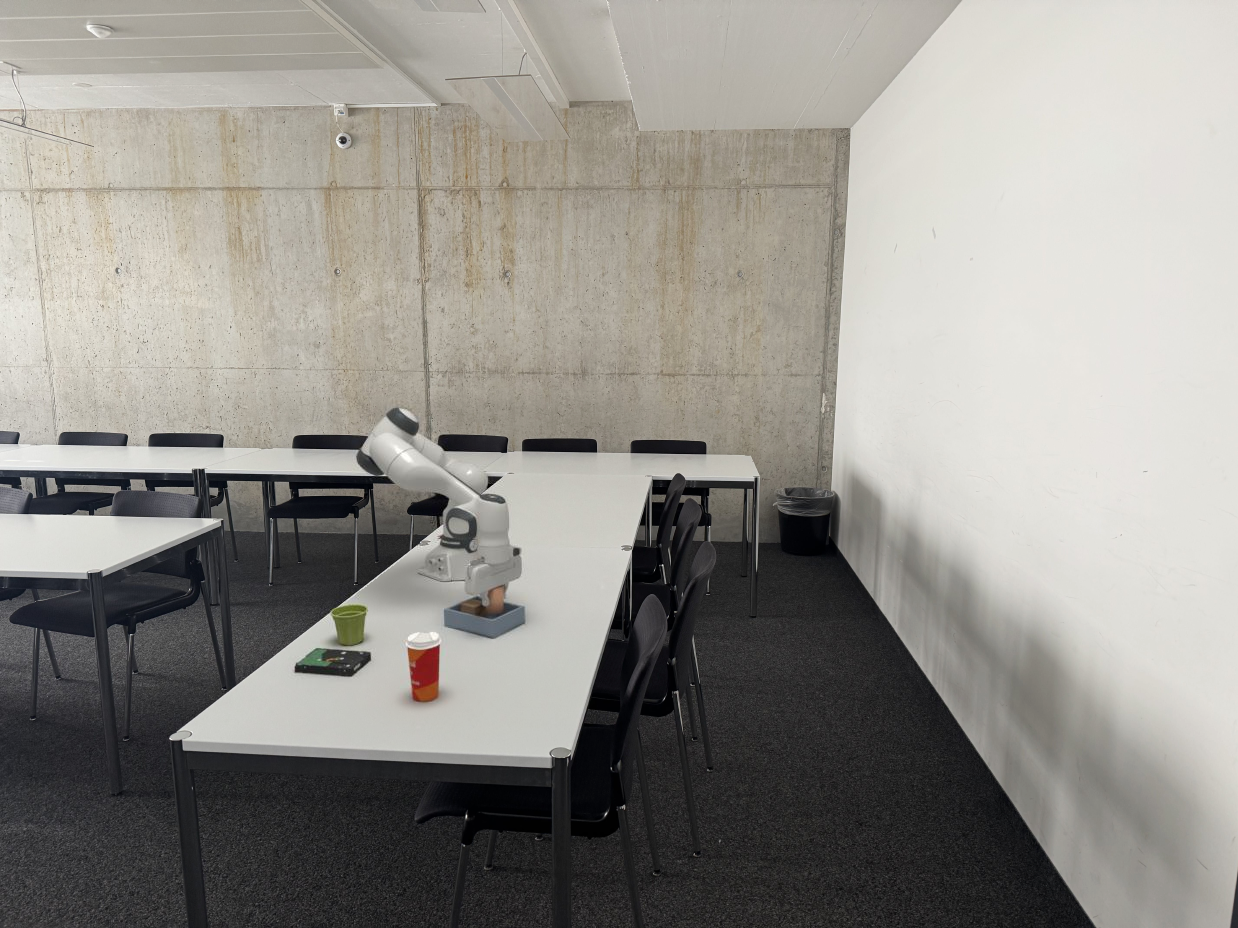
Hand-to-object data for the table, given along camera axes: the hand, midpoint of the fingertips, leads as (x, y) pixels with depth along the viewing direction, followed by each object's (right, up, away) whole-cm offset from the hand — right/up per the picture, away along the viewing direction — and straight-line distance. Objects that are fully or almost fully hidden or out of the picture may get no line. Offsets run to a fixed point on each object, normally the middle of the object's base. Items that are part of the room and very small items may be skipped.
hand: (494, 601), depth 215 cm
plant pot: (-36, -9, -9) cm, 39 cm away
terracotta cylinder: (0, -3, 0) cm, 3 cm away
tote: (-3, -7, +3) cm, 8 cm away
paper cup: (-9, -14, -40) cm, 44 cm away
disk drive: (-35, -12, -24) cm, 45 cm away
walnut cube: (-7, -6, +5) cm, 10 cm away
